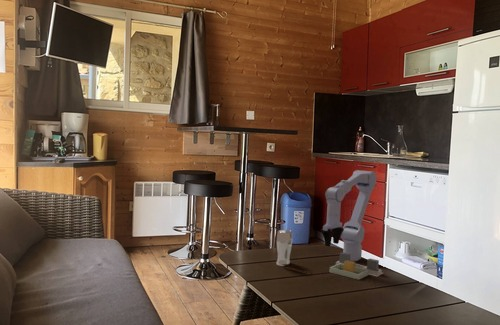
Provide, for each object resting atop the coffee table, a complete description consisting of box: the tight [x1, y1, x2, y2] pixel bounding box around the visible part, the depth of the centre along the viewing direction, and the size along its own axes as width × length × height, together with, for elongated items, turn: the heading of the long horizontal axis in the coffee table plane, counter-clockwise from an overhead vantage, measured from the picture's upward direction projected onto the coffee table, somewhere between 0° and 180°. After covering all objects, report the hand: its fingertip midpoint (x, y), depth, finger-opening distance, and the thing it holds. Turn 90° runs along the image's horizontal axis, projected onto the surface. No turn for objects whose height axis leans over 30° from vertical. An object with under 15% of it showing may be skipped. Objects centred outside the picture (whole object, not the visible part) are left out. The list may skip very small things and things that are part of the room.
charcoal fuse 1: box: [338, 251, 350, 263], centre depth 185 cm, size 2×4×6 cm, turn 50°
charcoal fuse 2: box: [366, 258, 380, 271], centre depth 176 cm, size 2×4×6 cm, turn 51°
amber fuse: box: [342, 260, 356, 273], centre depth 173 cm, size 2×4×6 cm, turn 51°
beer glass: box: [275, 229, 293, 267], centre depth 185 cm, size 7×7×15 cm
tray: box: [328, 263, 369, 280], centre depth 174 cm, size 9×13×3 cm
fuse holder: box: [335, 260, 384, 277], centre depth 181 cm, size 7×20×2 cm, turn 51°
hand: (331, 244), depth 186 cm, fingers open, 7 cm apart
